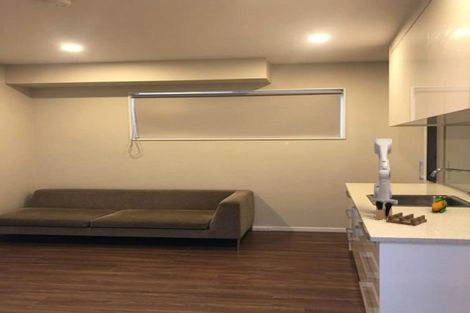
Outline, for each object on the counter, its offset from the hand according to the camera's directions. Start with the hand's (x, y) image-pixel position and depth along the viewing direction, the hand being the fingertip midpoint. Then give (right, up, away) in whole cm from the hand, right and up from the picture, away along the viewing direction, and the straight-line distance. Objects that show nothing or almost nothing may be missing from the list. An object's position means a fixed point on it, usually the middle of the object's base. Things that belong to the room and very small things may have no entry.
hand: (383, 215), depth 239 cm
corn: (+40, -1, +21) cm, 45 cm away
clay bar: (0, -2, 0) cm, 2 cm away
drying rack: (+9, -2, -10) cm, 13 cm away
